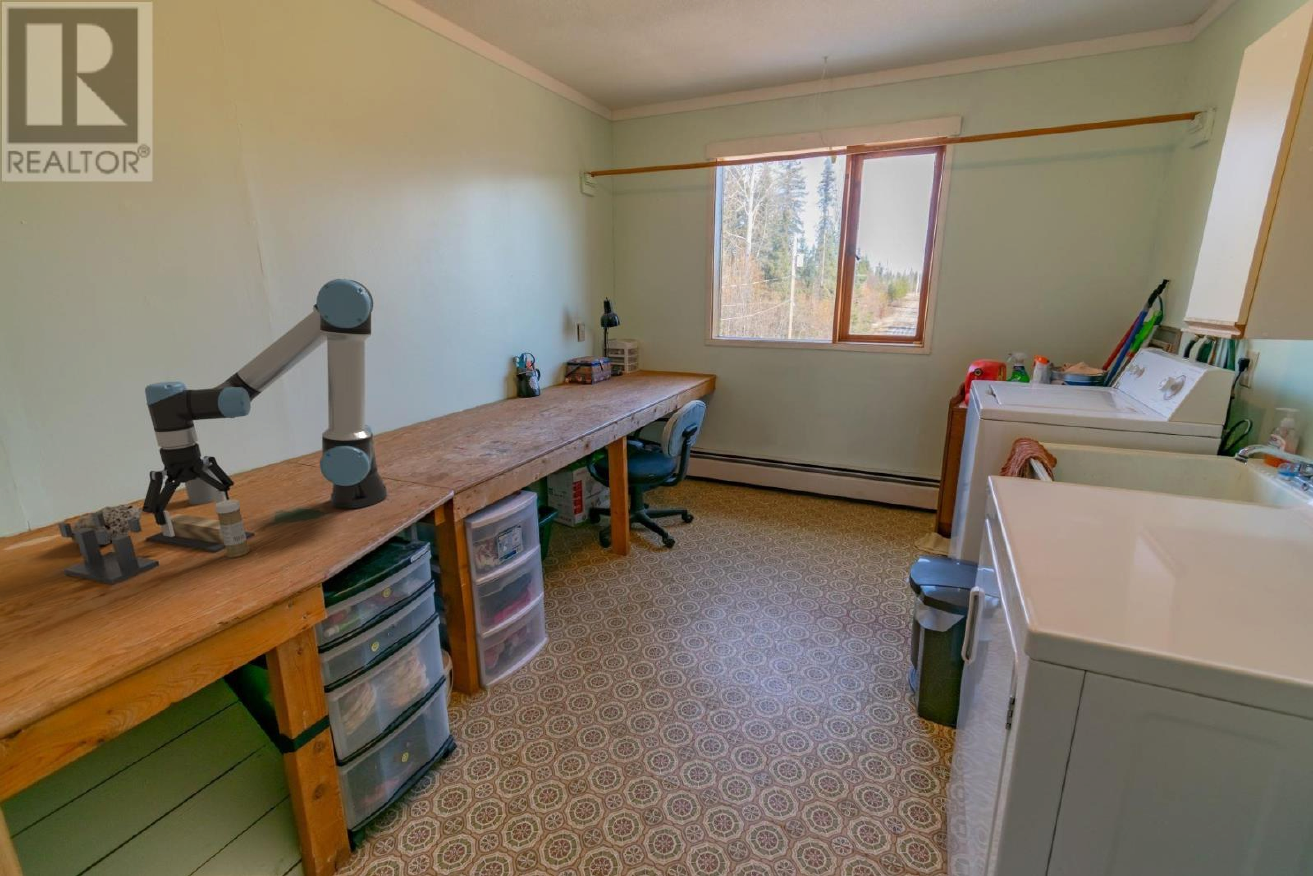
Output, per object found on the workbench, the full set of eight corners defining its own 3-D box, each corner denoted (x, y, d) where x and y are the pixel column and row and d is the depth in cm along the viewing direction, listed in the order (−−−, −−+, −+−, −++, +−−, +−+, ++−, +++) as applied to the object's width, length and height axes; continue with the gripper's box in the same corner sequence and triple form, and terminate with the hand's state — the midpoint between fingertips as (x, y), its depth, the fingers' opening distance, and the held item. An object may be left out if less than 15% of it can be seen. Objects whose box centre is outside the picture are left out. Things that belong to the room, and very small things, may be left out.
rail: (237, 537, 142) (234, 522, 141) (221, 543, 138) (218, 529, 137) (181, 527, 147) (177, 513, 146) (164, 533, 144) (160, 519, 142)
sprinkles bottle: (247, 547, 137) (236, 497, 134) (251, 553, 134) (240, 502, 131) (224, 554, 134) (212, 502, 130) (228, 560, 131) (216, 507, 127)
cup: (183, 505, 163) (176, 474, 161) (197, 496, 171) (190, 465, 168) (217, 502, 166) (209, 471, 163) (229, 493, 173) (222, 463, 171)
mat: (254, 535, 144) (254, 533, 144) (215, 552, 135) (215, 550, 135) (188, 524, 151) (187, 522, 151) (146, 540, 141) (146, 538, 141)
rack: (159, 565, 129) (146, 517, 125) (113, 584, 120) (98, 534, 117) (112, 556, 133) (98, 510, 130) (64, 574, 125) (49, 525, 122)
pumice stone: (121, 526, 149) (113, 499, 147) (160, 528, 148) (152, 501, 146) (62, 550, 136) (52, 520, 134) (104, 553, 135) (95, 522, 133)
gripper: (218, 431, 149) (235, 504, 154) (107, 458, 126) (131, 543, 131) (239, 433, 147) (255, 507, 152) (130, 461, 124) (153, 547, 129)
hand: (198, 524), depth 142 cm, fingers open, 13 cm apart
